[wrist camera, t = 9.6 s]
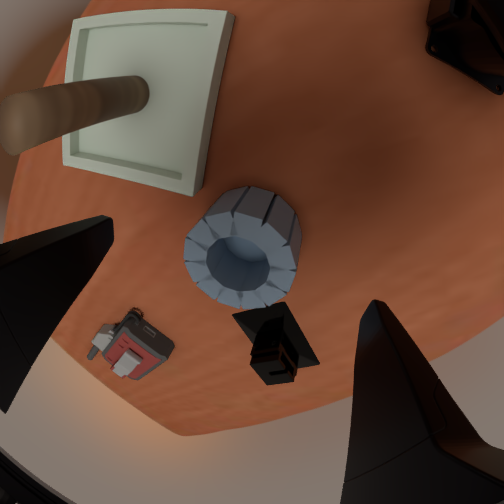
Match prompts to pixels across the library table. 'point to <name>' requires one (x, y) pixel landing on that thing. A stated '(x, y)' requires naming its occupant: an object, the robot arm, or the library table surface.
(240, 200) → the ring
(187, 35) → the tray
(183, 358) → the library table surface
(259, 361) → the black angular piece
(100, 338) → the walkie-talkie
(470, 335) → the library table surface
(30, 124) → the dowel
